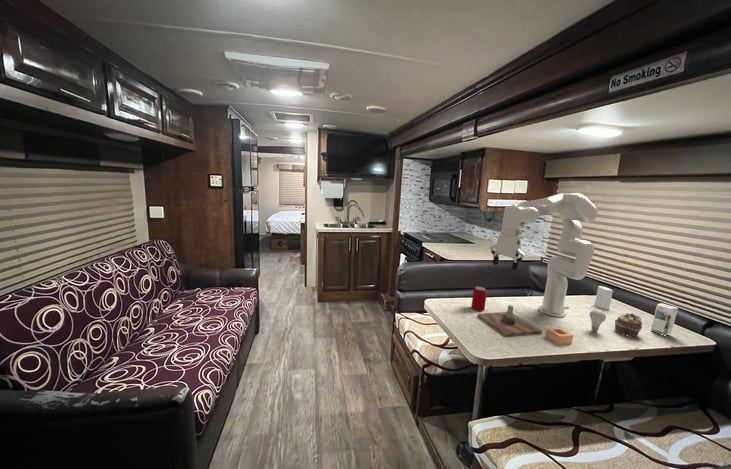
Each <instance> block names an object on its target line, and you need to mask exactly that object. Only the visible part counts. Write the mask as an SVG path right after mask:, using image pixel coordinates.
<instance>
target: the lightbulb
mask: <svg viewBox="0 0 731 469" xmlns="http://www.w3.org/2000/svg"><path fill="white" fill-rule="evenodd" d="M606 318H607V316H606V313H605V312H604V311H602V309H597V308H595V309H592V310H591V311H590V312H589V319H590V321H591V323H590V324H591V327H590V328H591V330H592V331H593V332H598V331H599V328H600V327H601V325H602V324H603V323H604V322H605V320H606Z"/></svg>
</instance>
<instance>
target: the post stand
mask: <svg viewBox="0 0 731 469" xmlns="http://www.w3.org/2000/svg"><path fill="white" fill-rule="evenodd" d="M476 317H478V318H479V319H481V321H483V322H485V323H486V324H487V325H488V326H490V327H491V328H493V329H494V330H495V331H497V332H498V333H499V334H501V335H502V336H503V337H505V338H507V337H508V338H510V337H520V336H530V335H531V336H532V335H540V334H543V330H542V329H540V328H538V327H537V326H535V325H533V324H532V323H530V322H528V321H527V320H526V319H523V318H522V317H520V316H519V315H516V314H515V313H514V306H513V305H511V304H510V305H508V306H507V310H506V311H499V312H485V313H477V316H476Z"/></svg>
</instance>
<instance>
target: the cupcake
mask: <svg viewBox="0 0 731 469" xmlns="http://www.w3.org/2000/svg"><path fill="white" fill-rule="evenodd" d="M642 325H643V322H642V318H641V317H640V316H639V315H636V314H634V313H633V312H632V313H628V312H626V313H624V314H621V315H620V316H618V317H617V319H615V320H614V328H615V329H614V330H616V331H617V332H616V331H615V332H616V333H618V332H619V333H618V334H620V333H622V334H625V335H628V336H637V337H638V335H639V333H640V332H641V330H642V328H643V326H642ZM622 334H621V335H622ZM625 335H624V336H625ZM628 336H627V337H628Z"/></svg>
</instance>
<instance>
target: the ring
mask: <svg viewBox="0 0 731 469" xmlns="http://www.w3.org/2000/svg"><path fill="white" fill-rule="evenodd" d="M545 330H546V331H545V336H544V337H545V338H547V339H549V340H550V341H552V342H553V343H555V344H557V345H558V346H562V345H571V344H572V343H573V338H574V335H573V334H572V333H570V332H568V331H566V330H565V329H563V328H561V327H559V326H558V327H547V328H546V329H545Z"/></svg>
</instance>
